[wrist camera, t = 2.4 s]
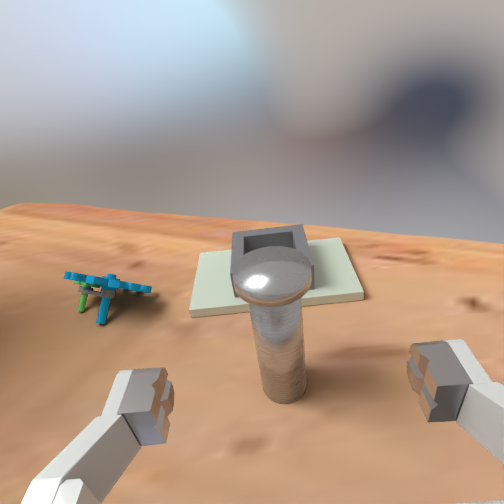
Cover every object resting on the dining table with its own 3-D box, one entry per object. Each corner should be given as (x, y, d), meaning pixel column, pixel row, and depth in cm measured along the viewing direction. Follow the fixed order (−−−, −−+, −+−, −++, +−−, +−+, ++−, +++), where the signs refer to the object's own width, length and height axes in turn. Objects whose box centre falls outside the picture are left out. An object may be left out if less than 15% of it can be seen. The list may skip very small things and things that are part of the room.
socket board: (191, 317, 41) (181, 286, 38) (201, 259, 51) (195, 232, 48) (363, 299, 40) (365, 266, 37) (339, 244, 50) (340, 215, 47)
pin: (254, 415, 30) (230, 297, 22) (253, 361, 34) (233, 250, 27) (320, 409, 29) (317, 288, 22) (310, 356, 34) (304, 242, 27)
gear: (170, 285, 44) (101, 270, 35) (160, 332, 43) (86, 329, 35) (115, 276, 50) (45, 262, 41) (105, 317, 49) (31, 311, 41)
